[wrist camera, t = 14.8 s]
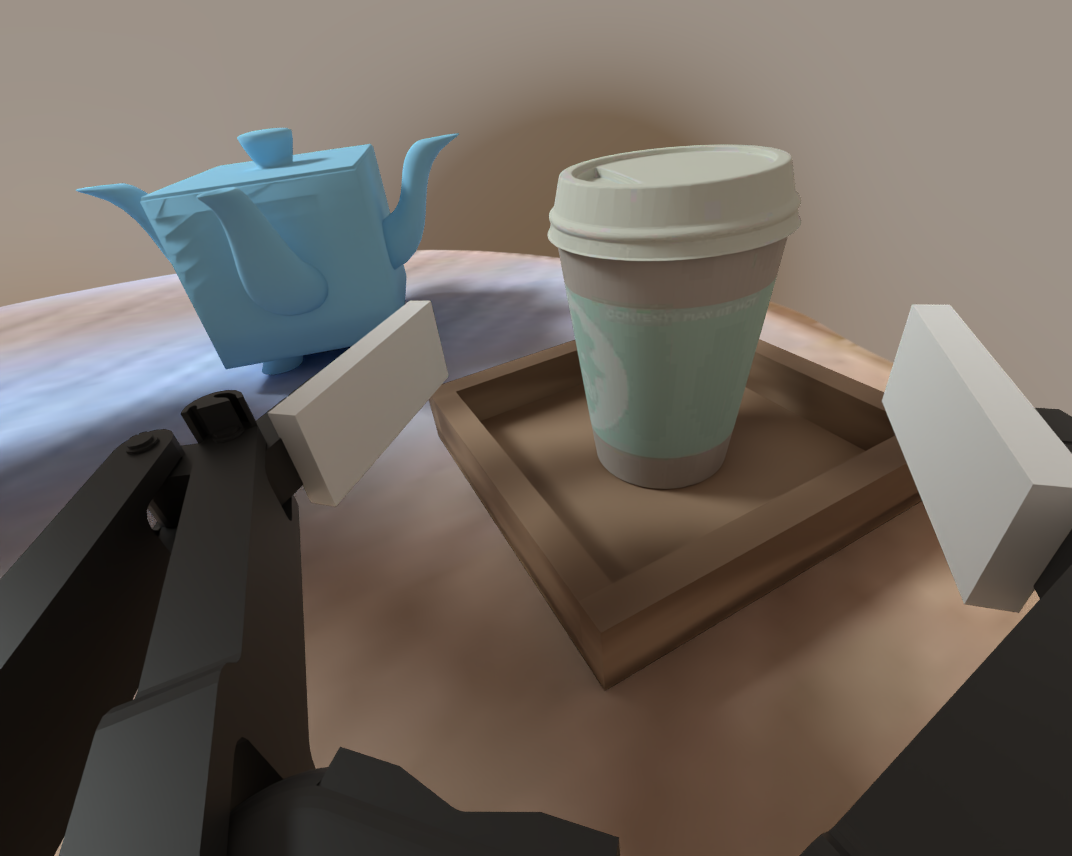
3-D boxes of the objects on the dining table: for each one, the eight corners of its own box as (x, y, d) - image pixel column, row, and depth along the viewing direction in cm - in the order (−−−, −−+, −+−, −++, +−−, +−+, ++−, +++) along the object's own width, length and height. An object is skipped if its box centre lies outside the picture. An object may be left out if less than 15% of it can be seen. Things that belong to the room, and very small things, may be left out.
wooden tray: (438, 436, 28) (426, 389, 27) (676, 348, 34) (679, 305, 32) (604, 690, 16) (601, 632, 14) (942, 488, 21) (968, 428, 19)
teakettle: (353, 287, 52) (299, 119, 44) (499, 309, 43) (464, 100, 35) (163, 371, 40) (39, 162, 32) (308, 429, 31) (184, 151, 22)
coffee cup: (593, 393, 29) (581, 150, 22) (759, 408, 26) (805, 135, 19) (542, 494, 22) (502, 196, 15) (756, 530, 19) (823, 183, 13)
